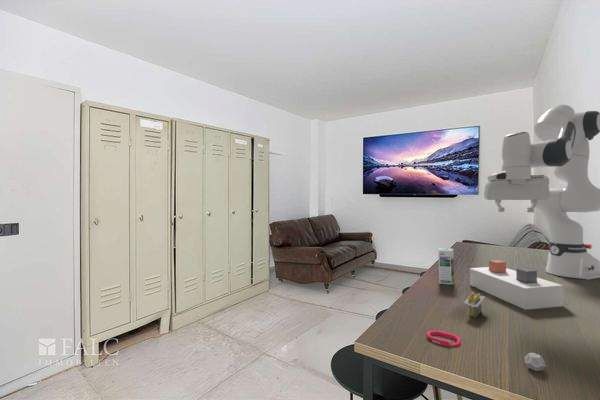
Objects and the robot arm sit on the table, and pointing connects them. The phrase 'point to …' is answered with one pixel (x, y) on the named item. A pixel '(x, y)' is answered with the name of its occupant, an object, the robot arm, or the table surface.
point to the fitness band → (443, 342)
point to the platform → (474, 304)
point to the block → (517, 289)
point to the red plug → (497, 266)
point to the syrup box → (446, 266)
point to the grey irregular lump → (534, 362)
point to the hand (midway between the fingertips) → (515, 212)
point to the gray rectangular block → (526, 275)
